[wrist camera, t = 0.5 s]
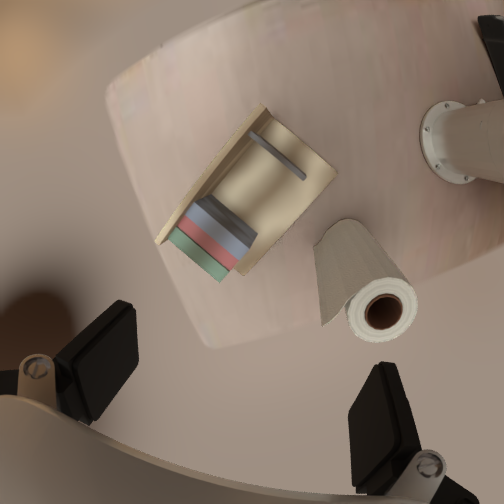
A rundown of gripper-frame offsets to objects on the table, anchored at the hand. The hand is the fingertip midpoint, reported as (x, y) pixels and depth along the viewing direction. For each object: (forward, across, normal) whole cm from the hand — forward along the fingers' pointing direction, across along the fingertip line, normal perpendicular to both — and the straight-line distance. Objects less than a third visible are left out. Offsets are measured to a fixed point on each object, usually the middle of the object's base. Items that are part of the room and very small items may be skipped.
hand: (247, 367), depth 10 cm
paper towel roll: (+33, -8, +2) cm, 34 cm away
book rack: (+33, +5, 0) cm, 33 cm away
